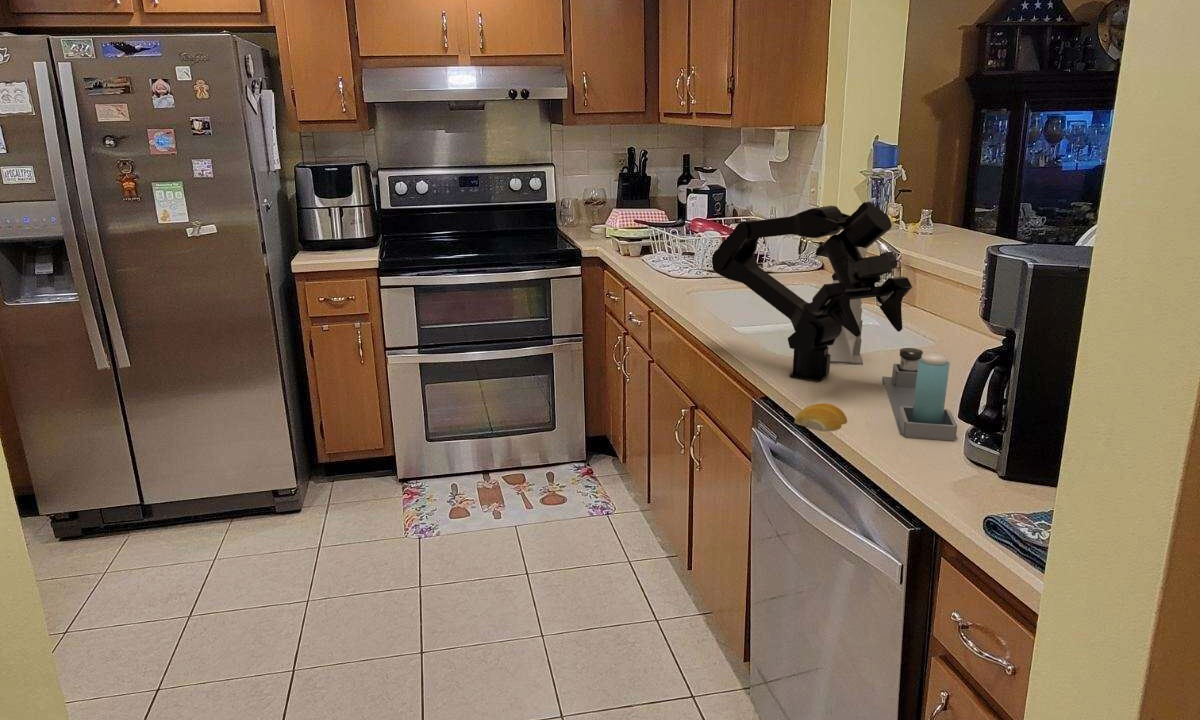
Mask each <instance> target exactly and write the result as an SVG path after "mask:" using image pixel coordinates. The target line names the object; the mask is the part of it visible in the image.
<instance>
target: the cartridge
mask: <svg viewBox="0 0 1200 720" xmlns="http://www.w3.org/2000/svg"><path fill="white" fill-rule="evenodd" d="M948 359H949V357H948V356H947V355H946V354H943V353H937V352H923V354H922V357H921V359H919V360H918V369H917V378H916V387H915V396H914V405H913V413H912V422H916V423H929V424H942V422H943V414H944V409H945V403H946V396H947V387H948V380H949V372H950V367H951V366H950V365H951V363H950V362H949V360H948Z"/></svg>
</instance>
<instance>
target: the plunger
mask: <svg viewBox="0 0 1200 720" xmlns="http://www.w3.org/2000/svg"><path fill="white" fill-rule="evenodd" d="M922 354H924V351H923V350H922V349H919V348H913V347H904V348H900V349H899V357H900V361H899V364H900V371H904V372H917V369H918V360H919V359H921V357H922Z"/></svg>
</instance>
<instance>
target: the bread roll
mask: <svg viewBox="0 0 1200 720" xmlns="http://www.w3.org/2000/svg"><path fill="white" fill-rule="evenodd" d="M847 419H848V418H847V416H846V415H845V412H844V411H843V409H841V408H839V407H838V406H836V405H833V404H830V403H825V402H824V403H815V404H811V405H807V406H806V407H805V408H803V409H802V410H801V411H799V412H798V413H797V414H796V415H795V417H794V425H797V426H798V425H799V426H802V427H806V428H808V429H811V430H812V429H813V430H817V431H821V432H830V431H838V430H839V429H841V428H842V426H843V425H846V424H847V423H848V420H847Z"/></svg>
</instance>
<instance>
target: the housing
mask: <svg viewBox="0 0 1200 720" xmlns="http://www.w3.org/2000/svg"><path fill="white" fill-rule="evenodd" d="M881 377H882V378H881V383H882V382H883V383H882V385H883V386H884V387H885V389H886V390H885V391H886V392H887V393H886V394H887V397H888V400H889V403H890V406H891V410H892V413H893V416H894V420H895V422H896V423H895V424H896V427H897V431H898V433H899V435H900V436H903V437H905V438H909V439H910V438H912V439H923V440H937V441H947V442H948V441H950V442H951V441H952V442H954V441H956V440H958V436H957V431H958V424H957V422H956V419H955V418H954V416H953V413H952V412H951V410H949V409H948V408H944V414H943V422H942V424H929V423H916V422H912V413H913V405H914V396H915V387H916V378H917V372H904V371H900V363H897V362H896V363H894V364H892V373H891V376H881Z"/></svg>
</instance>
